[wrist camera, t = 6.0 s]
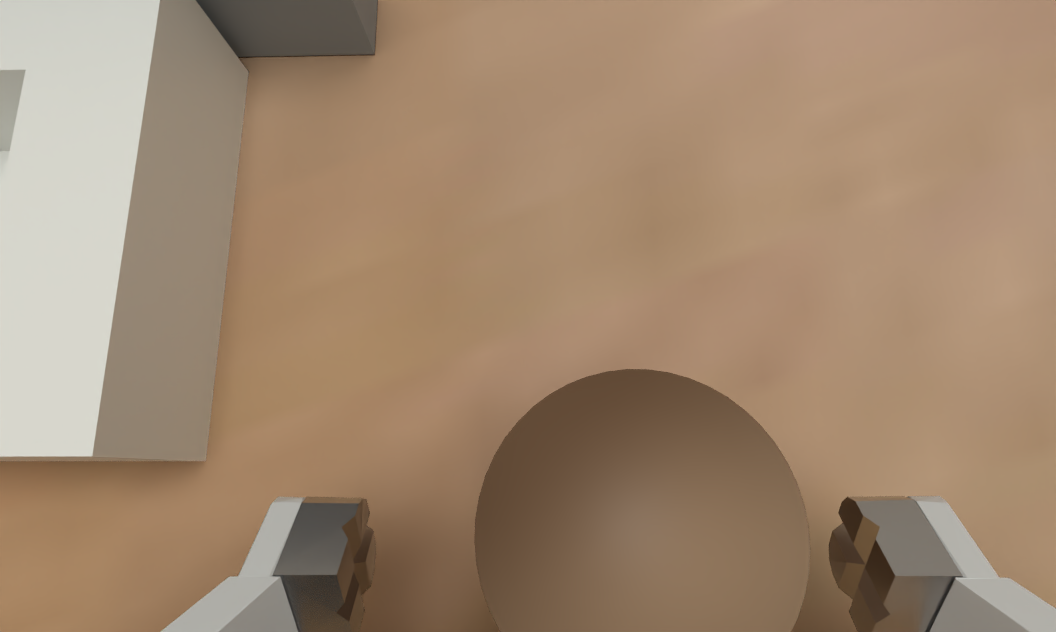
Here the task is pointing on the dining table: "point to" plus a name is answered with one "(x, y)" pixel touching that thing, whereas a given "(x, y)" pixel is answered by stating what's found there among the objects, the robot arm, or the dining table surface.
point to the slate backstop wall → (295, 26)
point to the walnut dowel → (641, 514)
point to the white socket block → (113, 226)
